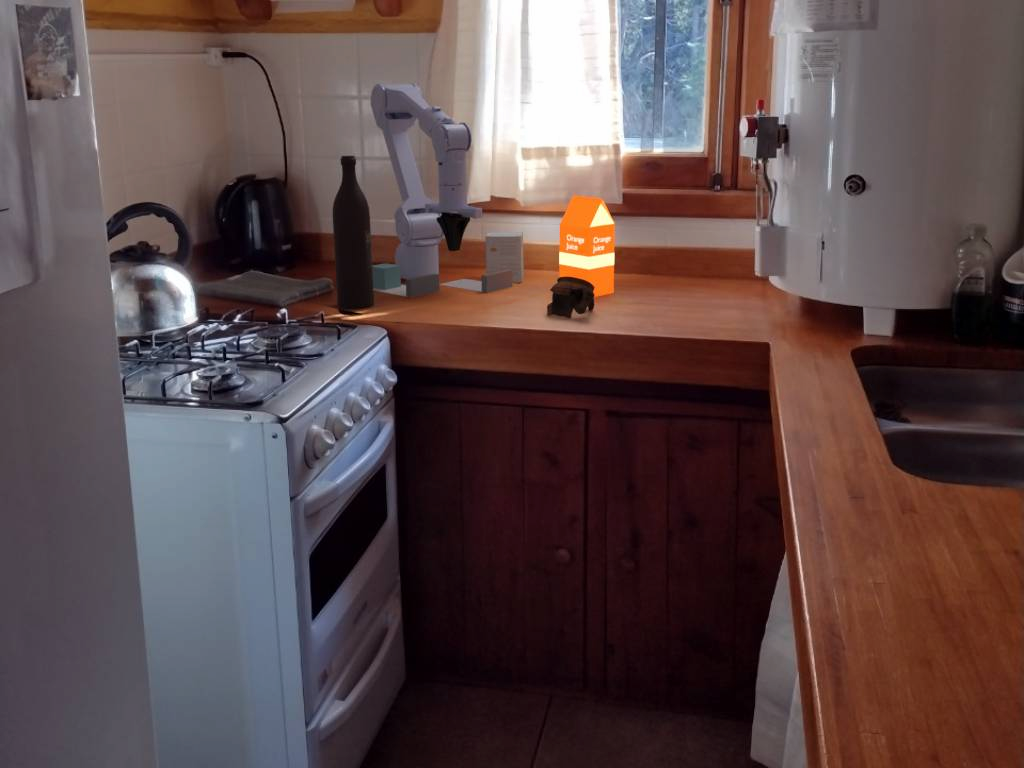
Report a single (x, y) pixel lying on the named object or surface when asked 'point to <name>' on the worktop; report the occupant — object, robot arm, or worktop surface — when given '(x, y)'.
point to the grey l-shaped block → (485, 282)
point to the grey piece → (416, 286)
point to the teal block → (386, 276)
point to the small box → (505, 253)
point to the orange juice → (588, 243)
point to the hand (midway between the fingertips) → (454, 250)
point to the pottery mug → (571, 297)
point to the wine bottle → (352, 243)
